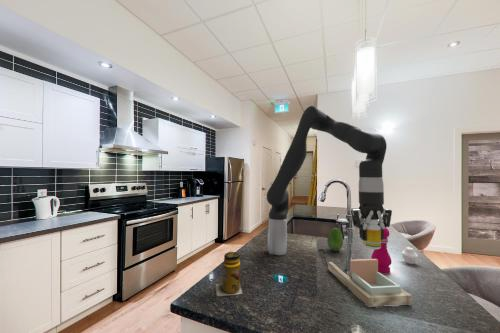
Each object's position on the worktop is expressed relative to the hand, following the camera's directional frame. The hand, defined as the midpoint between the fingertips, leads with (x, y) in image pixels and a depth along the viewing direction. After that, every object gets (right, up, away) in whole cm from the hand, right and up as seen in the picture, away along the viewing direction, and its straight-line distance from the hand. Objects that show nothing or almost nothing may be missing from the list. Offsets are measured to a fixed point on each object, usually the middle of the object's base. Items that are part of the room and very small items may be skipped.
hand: (371, 239), depth 71 cm
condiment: (-49, -18, 0) cm, 52 cm away
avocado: (+3, -19, +38) cm, 43 cm away
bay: (-1, -18, +4) cm, 18 cm away
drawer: (0, -18, -1) cm, 18 cm away
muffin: (+32, -19, +24) cm, 44 cm away
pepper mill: (+13, -19, +16) cm, 28 cm away
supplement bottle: (0, -3, 0) cm, 3 cm away
